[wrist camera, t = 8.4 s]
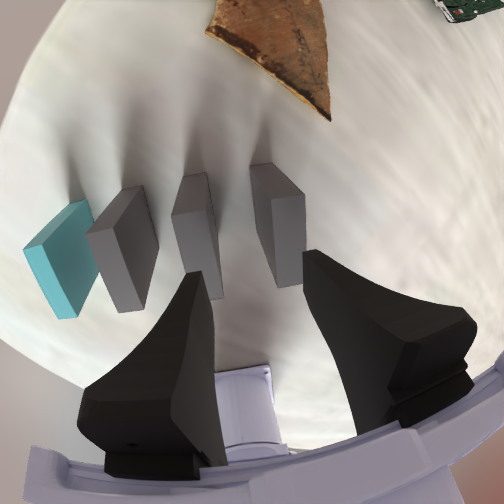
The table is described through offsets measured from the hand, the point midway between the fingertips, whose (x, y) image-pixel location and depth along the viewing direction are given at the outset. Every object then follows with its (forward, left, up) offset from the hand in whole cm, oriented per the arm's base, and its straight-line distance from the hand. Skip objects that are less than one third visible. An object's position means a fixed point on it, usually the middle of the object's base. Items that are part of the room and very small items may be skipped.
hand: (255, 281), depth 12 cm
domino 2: (0, +7, -10) cm, 12 cm away
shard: (+12, -5, -10) cm, 17 cm away
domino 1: (0, +11, -10) cm, 15 cm away
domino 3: (0, +2, -10) cm, 10 cm away
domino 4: (0, -2, -10) cm, 10 cm away
